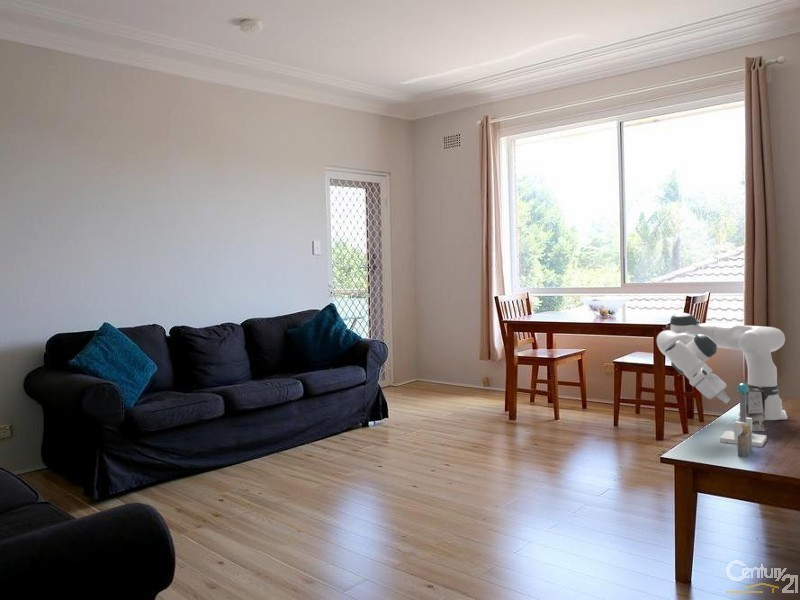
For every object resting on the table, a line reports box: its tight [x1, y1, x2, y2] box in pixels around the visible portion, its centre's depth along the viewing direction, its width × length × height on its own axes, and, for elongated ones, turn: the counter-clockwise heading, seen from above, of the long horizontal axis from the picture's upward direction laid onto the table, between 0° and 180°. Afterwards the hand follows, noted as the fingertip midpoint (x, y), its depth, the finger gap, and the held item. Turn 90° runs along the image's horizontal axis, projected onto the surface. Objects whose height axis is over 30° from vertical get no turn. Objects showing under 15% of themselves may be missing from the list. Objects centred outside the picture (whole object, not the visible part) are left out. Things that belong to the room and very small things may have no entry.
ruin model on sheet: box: [737, 424, 753, 458], centre depth 231 cm, size 11×3×10 cm, turn 143°
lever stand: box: [719, 416, 768, 448], centre depth 246 cm, size 12×14×8 cm
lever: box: [736, 382, 749, 427], centre depth 246 cm, size 6×4×18 cm
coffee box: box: [746, 388, 766, 432], centre depth 262 cm, size 9×6×16 cm
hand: (728, 402), depth 249 cm, fingers closed
